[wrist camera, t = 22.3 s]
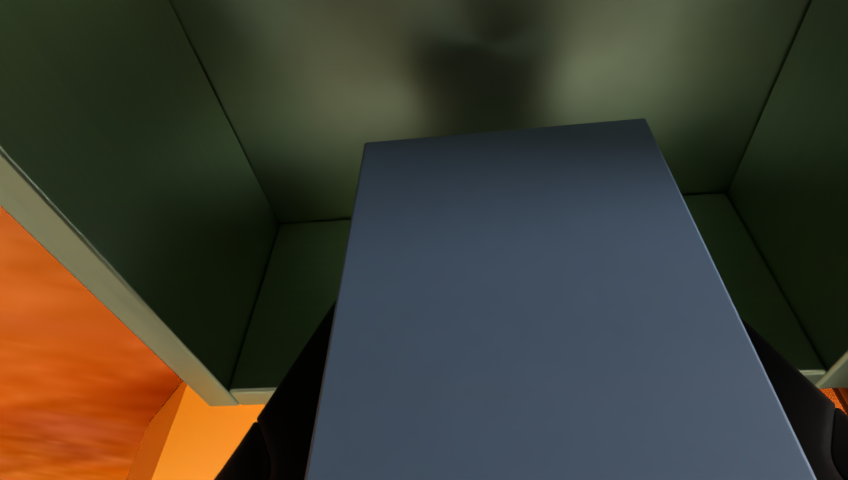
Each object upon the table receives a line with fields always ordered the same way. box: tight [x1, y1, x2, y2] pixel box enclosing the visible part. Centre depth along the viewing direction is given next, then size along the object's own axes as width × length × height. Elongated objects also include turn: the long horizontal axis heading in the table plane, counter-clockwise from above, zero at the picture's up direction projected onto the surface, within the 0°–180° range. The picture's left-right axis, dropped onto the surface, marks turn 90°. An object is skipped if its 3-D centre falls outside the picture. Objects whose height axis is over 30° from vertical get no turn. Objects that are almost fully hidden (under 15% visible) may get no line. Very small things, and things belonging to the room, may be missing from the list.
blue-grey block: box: [304, 118, 817, 480], centre depth 8 cm, size 5×5×6 cm
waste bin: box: [0, 0, 848, 406], centre depth 9 cm, size 12×15×6 cm
